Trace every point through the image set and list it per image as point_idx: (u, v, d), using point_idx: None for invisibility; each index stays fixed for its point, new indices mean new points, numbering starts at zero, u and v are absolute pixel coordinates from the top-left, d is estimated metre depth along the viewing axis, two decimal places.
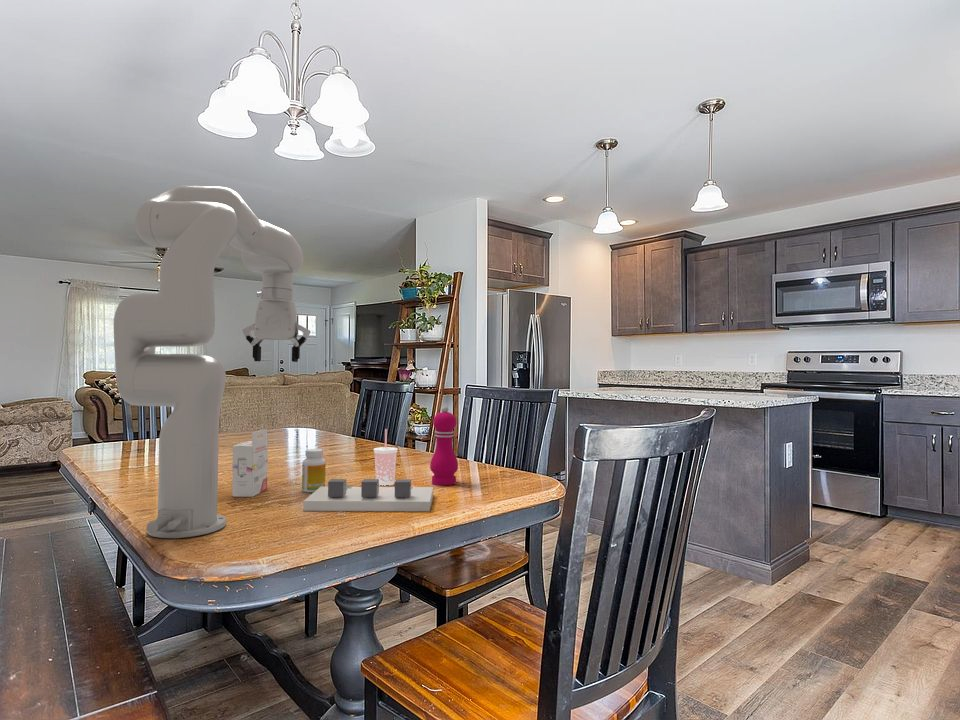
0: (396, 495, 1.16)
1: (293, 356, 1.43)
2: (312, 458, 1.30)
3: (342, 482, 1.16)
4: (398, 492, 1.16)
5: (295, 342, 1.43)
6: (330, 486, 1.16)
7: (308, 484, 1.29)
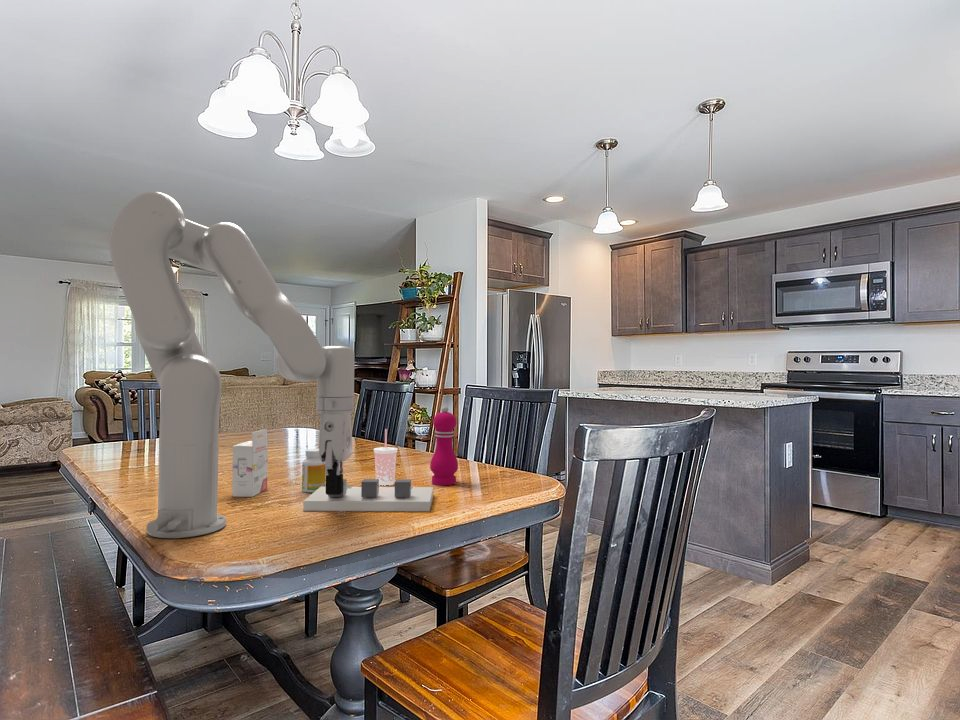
0: (396, 495, 1.16)
1: (342, 486, 1.14)
2: (312, 458, 1.30)
3: None
4: (398, 492, 1.16)
5: (341, 468, 1.15)
6: None
7: (308, 484, 1.29)
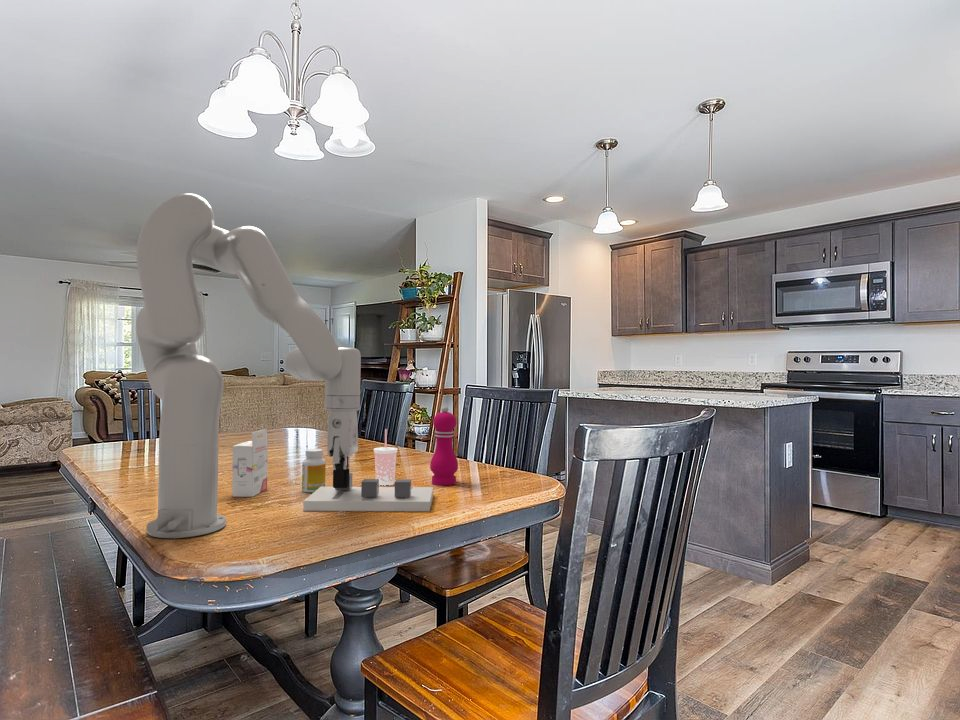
0: (396, 495, 1.16)
1: (348, 480, 1.21)
2: (312, 458, 1.30)
3: None
4: (398, 492, 1.16)
5: (348, 463, 1.21)
6: None
7: (308, 484, 1.29)
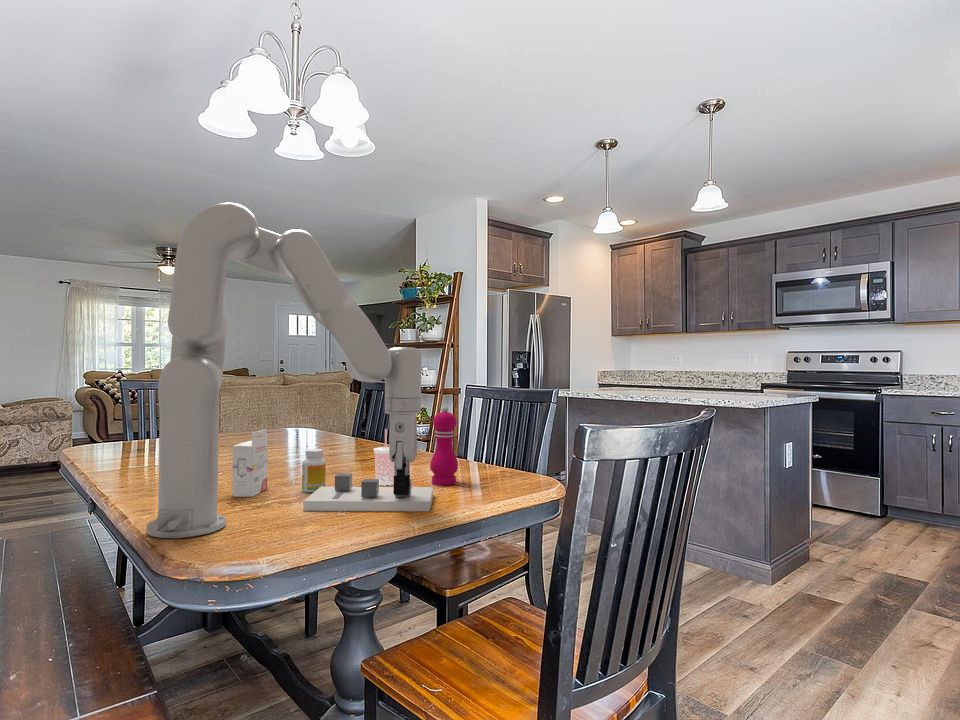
0: (396, 495, 1.16)
1: None
2: (312, 458, 1.30)
3: (348, 476, 1.22)
4: None
5: (408, 469, 1.15)
6: (337, 480, 1.22)
7: (308, 484, 1.29)
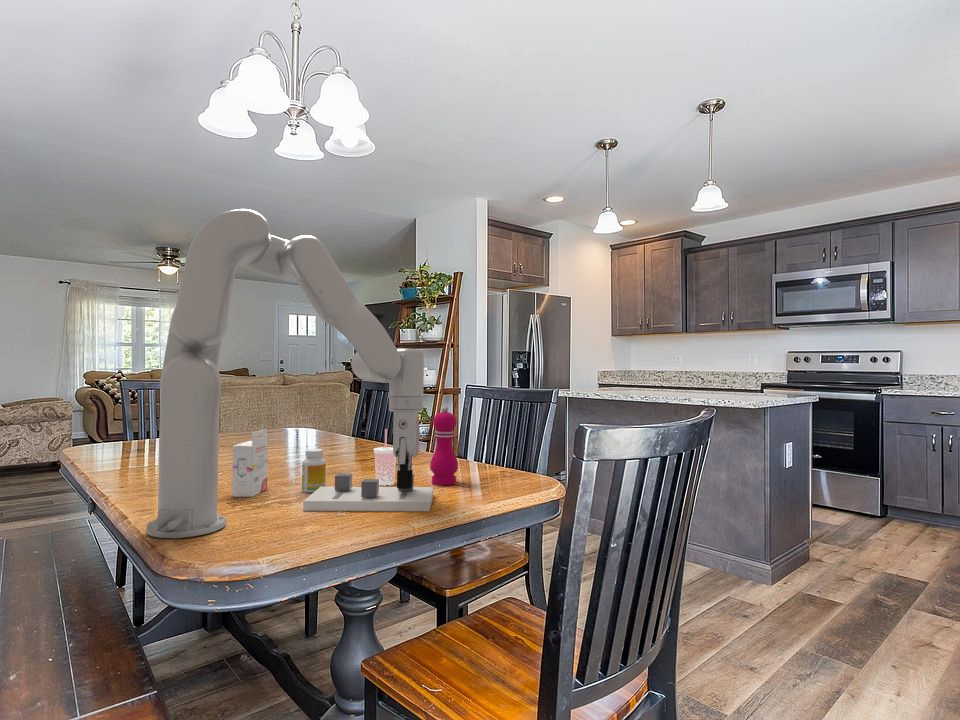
0: None
1: None
2: (312, 458, 1.30)
3: (348, 476, 1.22)
4: None
5: (411, 464, 1.21)
6: (337, 480, 1.22)
7: (308, 484, 1.29)
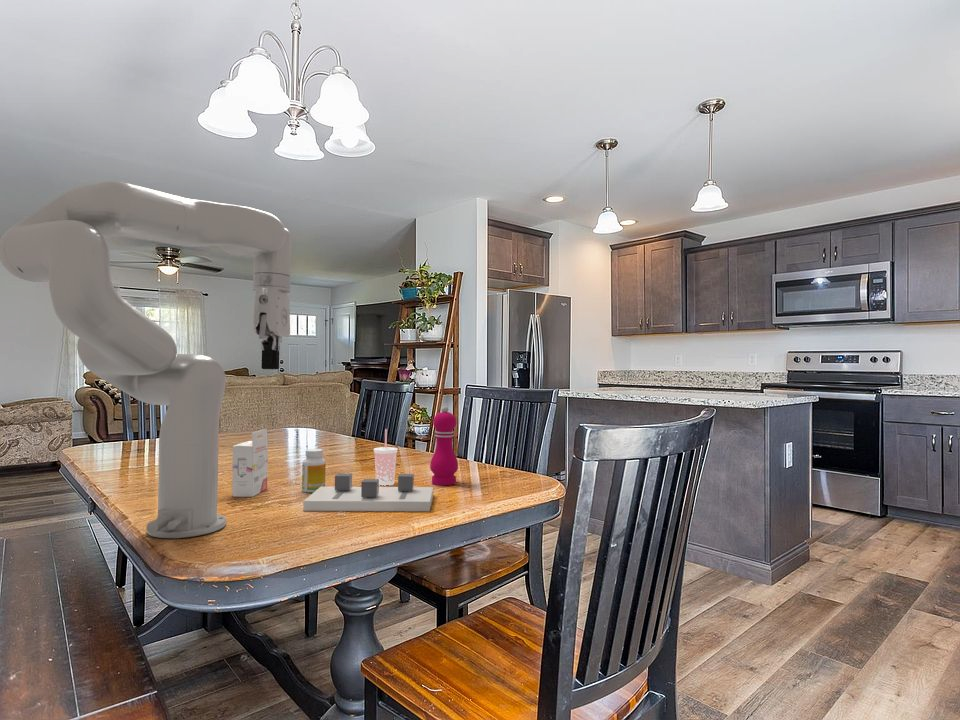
0: (399, 489, 1.22)
1: (278, 362, 1.19)
2: (312, 458, 1.30)
3: (348, 476, 1.22)
4: (401, 486, 1.22)
5: (278, 346, 1.19)
6: (337, 480, 1.22)
7: (308, 484, 1.29)
